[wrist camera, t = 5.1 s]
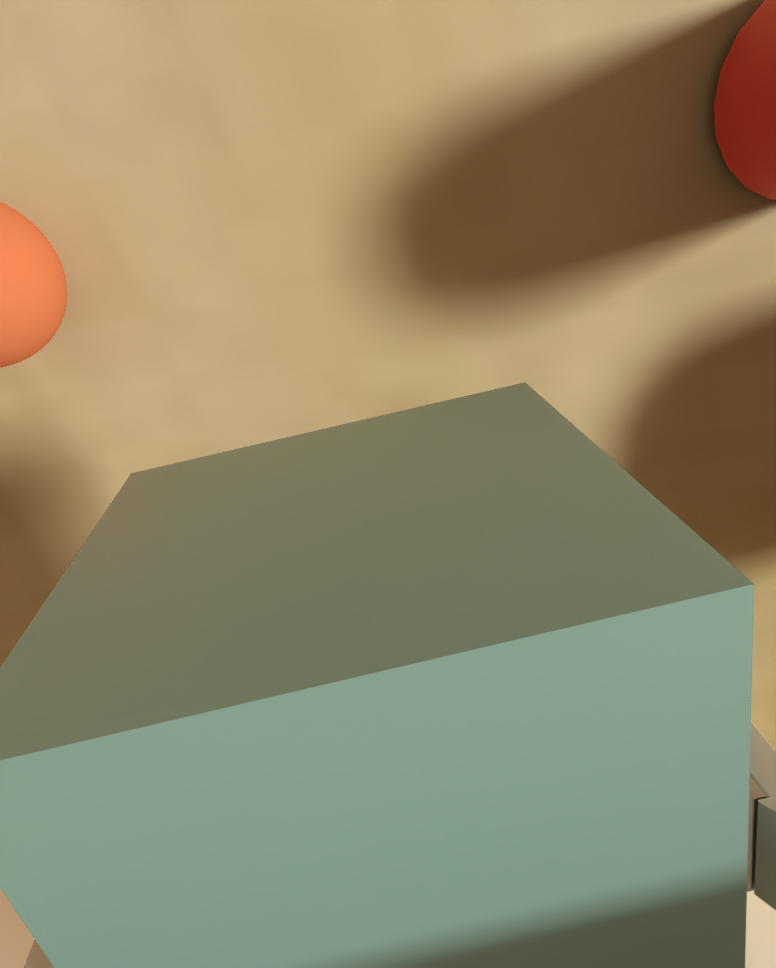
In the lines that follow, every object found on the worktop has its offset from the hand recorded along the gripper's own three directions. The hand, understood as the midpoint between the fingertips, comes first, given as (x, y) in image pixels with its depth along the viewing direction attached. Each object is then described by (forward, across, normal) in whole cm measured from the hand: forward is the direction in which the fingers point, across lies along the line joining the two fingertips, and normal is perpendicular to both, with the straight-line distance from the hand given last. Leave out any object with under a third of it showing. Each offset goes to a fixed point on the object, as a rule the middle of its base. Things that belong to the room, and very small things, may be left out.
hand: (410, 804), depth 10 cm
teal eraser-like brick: (+4, 0, 0) cm, 4 cm away
